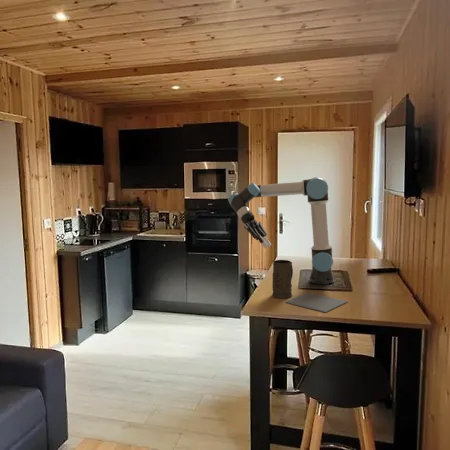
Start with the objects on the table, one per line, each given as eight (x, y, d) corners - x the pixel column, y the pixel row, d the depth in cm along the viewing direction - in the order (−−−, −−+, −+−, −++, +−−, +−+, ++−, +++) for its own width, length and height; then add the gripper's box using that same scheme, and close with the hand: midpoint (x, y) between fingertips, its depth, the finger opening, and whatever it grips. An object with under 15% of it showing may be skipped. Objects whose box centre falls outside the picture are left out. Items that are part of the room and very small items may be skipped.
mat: (285, 302, 220) (285, 301, 220) (308, 293, 236) (308, 292, 236) (325, 312, 204) (325, 311, 204) (347, 302, 220) (347, 301, 219)
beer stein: (286, 300, 224) (287, 263, 223) (268, 297, 230) (269, 261, 229) (297, 294, 238) (298, 259, 236) (280, 291, 243) (281, 257, 242)
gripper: (251, 218, 256) (272, 248, 246) (233, 220, 245) (255, 252, 235) (257, 210, 251) (280, 240, 242) (240, 212, 240) (263, 244, 231)
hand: (268, 246), depth 239 cm, fingers open, 3 cm apart
